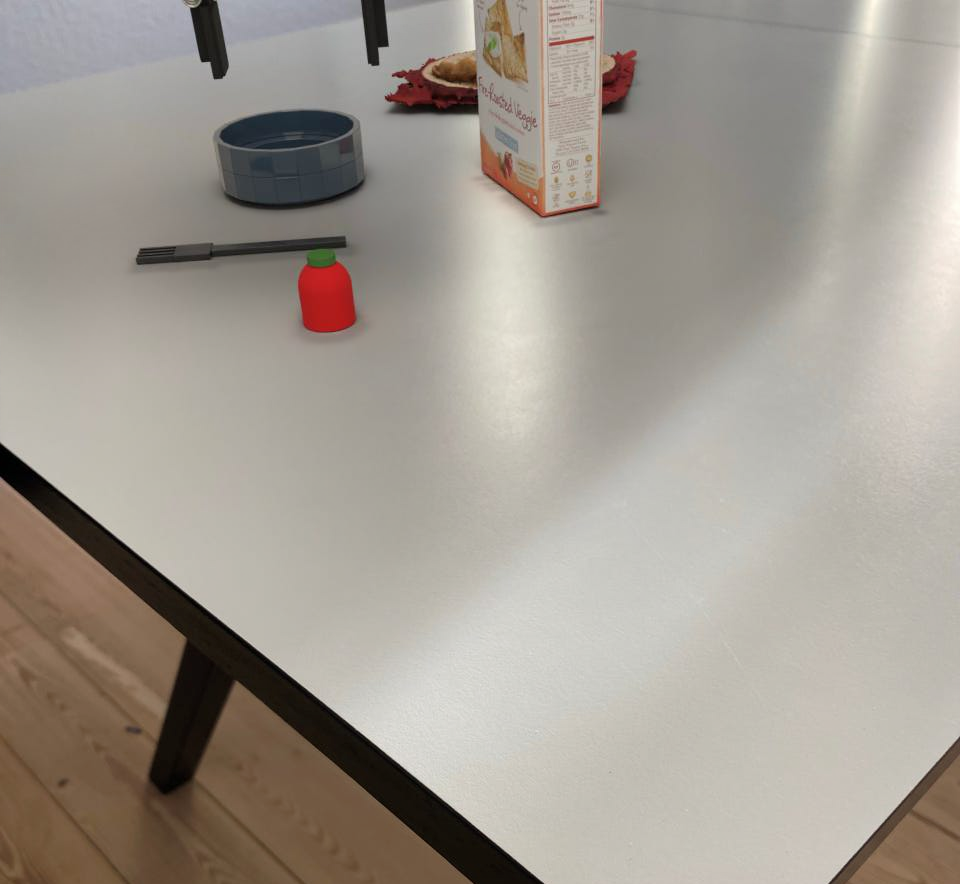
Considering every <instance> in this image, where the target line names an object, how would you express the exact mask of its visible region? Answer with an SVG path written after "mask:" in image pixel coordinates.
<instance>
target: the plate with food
mask: <svg viewBox="0 0 960 884" xmlns="http://www.w3.org/2000/svg"><path fill="white" fill-rule="evenodd" d="M637 54H638V51H637V50H635V49H631V50H629V51H628V52H626V53H624V54H621V52H620V51H618V50H617V51H616V54H614V53H613V54H611V55H610V54H606V53H605V52H603V63H602V109H603V108H606V107H607V106H608V105H609V104H610V103H611V102H613V103H616V102H617V101H618V100H620V99H622V100H626V97H627V93H628V89H629V87H630V86H631V85H632V82H633V77H634V71H635V70H634V69H635V66H636V60H635V59H634V58H635V57H637V56H638V55H637ZM632 59H633V60H632ZM424 64H425V65H424ZM422 65H424V66H422ZM390 76H391V77H392V78H395V77H396V78H398V79H404V80H406V82H405V83H400V84H398V85H397V89H396V91H395V92H394V93H392V92H390V91H389V93H388V94H386V95H384V100H385V101H386V102H387V103H388V102H389V103H395V104H401V105H402V104H404V106H408V107H411V106H413V105H417V104H418V105H420V104H422V105H436V107H438V109H441V108H443V109H446V110H447V109H448V107H451V106H452V104H453V105H455V104H460V105H475V104H478V97H476V96H478V86H477V67H476V49H474V50H469V51H464V52H458V53H453V54H452V55H451V54H450V55H448V57H446V56H442V57H439V58H438V59H435V58H434V57H433V58H431V57H428V59H427V60H426V61H425V63H422V64H421V66H420V68H419V69H409V70H408V71H407V70H405V69H402V70H400V71H396V72H393V73H392V74H391V75H390Z"/></svg>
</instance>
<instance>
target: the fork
mask: <svg viewBox="0 0 960 884" xmlns="http://www.w3.org/2000/svg"><path fill="white" fill-rule="evenodd" d="M346 247H347V236H346V235H337V236H336V235H335V236H323V237H308V238H296V239H281V240H268V241H253V242H239V243H229V244H227V243H226V244H214V242H205V243H204V242H203V243H191V244H176V245H165V246H163V245H162V246H150V247H149V246H148V247H140V248H138V249H139V250H138V252H137V254H136V257H135V262H136V265H145V264H146V265H147V264H160V263H174V262H176V263H177V262H189V261H204V260H211V259H212V257H220V256H221V257H222V256H233V255H234V256H236V255H248V254H249V255H251V254H263V253H279V252H290V251H305V250H316V249H332V248H333V249H334V248H346Z"/></svg>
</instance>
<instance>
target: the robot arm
mask: <svg viewBox="0 0 960 884" xmlns="http://www.w3.org/2000/svg"><path fill="white" fill-rule="evenodd" d="M181 1H182V3H183V4H184V5H185V6H186V7H188V8H189V11H190V17H191V21H192V27H193V32H194V37H195V41H196V46H197V52H198V56H199V60H200V63H209V65H210V68H211V74H212V78H213V80H214V81H215V80H223V79H224V77H226V76H227V73H228V70H229V67H230V63H229V56H228V52H227V47H226V41H225V35H224V31H223V25H222V20H221V14H220V8H219V3H218V0H181ZM385 2H386V1H385V0H360V6H361V15H362V24H363V31H364V41H365V49H366V58H367V65H370V66H371V67H379V66H380V51H379V49H380V48H389V47H390V43H389V32H388V24H387V23H388V22H387V21H388V20H387V12H386V3H385Z"/></svg>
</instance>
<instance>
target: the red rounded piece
mask: <svg viewBox="0 0 960 884" xmlns="http://www.w3.org/2000/svg"><path fill="white" fill-rule="evenodd" d="M353 289H354V288H353V281H352V278H351V275H350V273H349V271H348V270H347V268H346V267H345V266H344V265H343V264H342V263H341V262H339V261H338V260H337V257H336V252H335V250H333V249H332V248H320V249H311V250H309V251H308V252H307V253H306V264H305V265H304V266H303V267H302V269H301V271H300V273H299V275H298V279H297V291H298V299H299V304H300V312H301V316H302V317H301V318H302V322H303V323H302V325H303V326H304V327H305V328H306V329H307V330H310V331H313V332H318V333H330V332H336V331H342V330H345V329H347V328H349V327H351V326H352V325H354V324H355V323H356V320H357V315H356V307H355V306H356V305H355V298H354V290H353Z"/></svg>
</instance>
